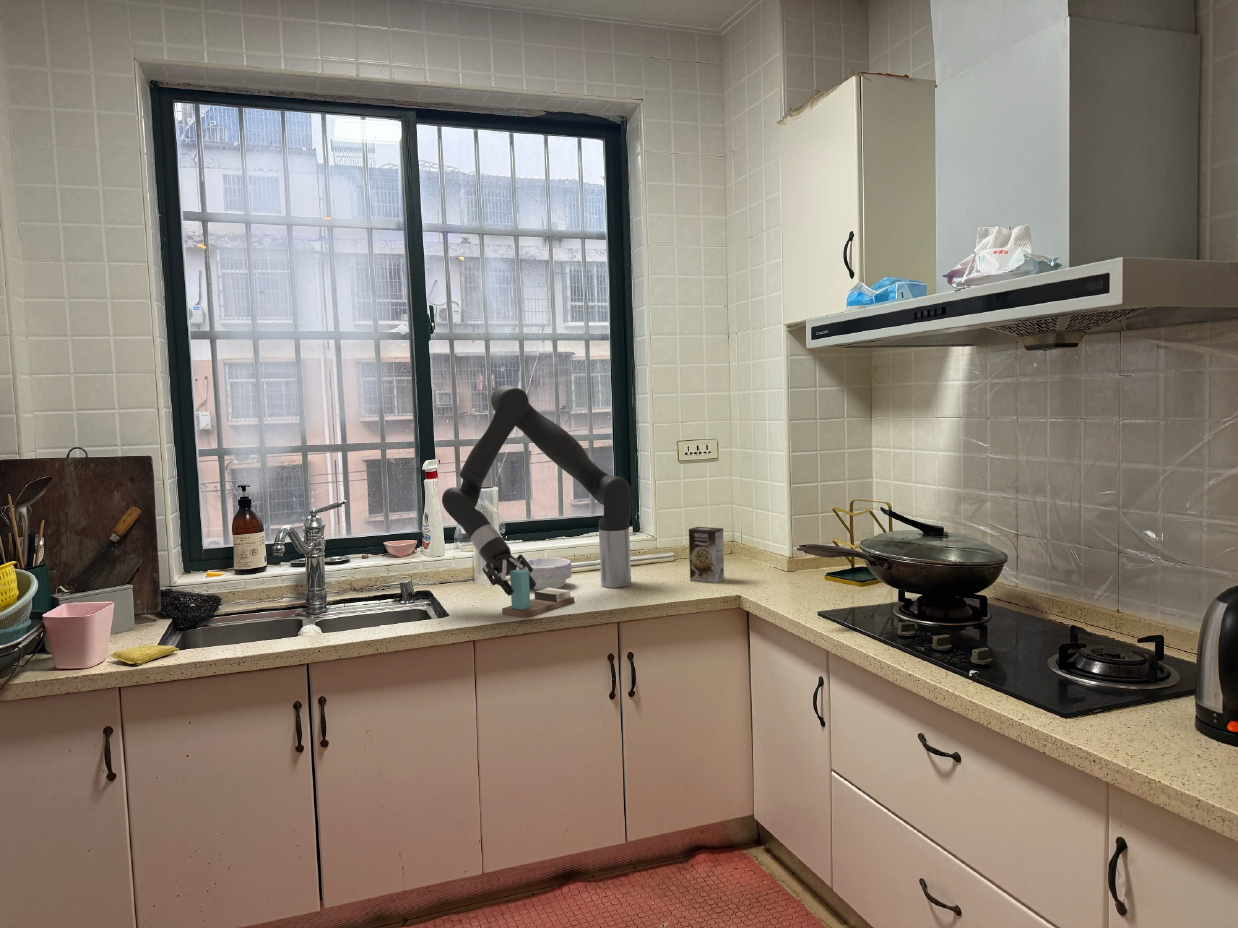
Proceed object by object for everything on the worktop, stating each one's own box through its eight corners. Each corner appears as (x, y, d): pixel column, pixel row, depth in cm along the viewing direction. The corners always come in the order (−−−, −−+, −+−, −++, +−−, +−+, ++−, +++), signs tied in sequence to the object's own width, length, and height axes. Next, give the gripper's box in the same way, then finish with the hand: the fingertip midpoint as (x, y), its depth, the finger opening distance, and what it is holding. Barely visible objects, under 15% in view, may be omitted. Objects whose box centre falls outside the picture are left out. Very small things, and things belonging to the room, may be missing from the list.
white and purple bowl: (570, 591, 253) (569, 565, 253) (519, 593, 254) (517, 567, 253) (574, 581, 269) (573, 556, 268) (526, 582, 269) (524, 557, 268)
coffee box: (689, 581, 261) (687, 529, 260) (698, 577, 267) (696, 525, 266) (716, 583, 257) (714, 530, 255) (725, 579, 262) (723, 527, 261)
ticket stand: (550, 598, 245) (549, 586, 245) (574, 602, 240) (573, 589, 239) (502, 613, 230) (501, 600, 229) (526, 617, 224) (526, 604, 224)
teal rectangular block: (519, 605, 231) (517, 569, 231) (530, 607, 229) (528, 570, 228) (511, 608, 229) (509, 571, 228) (522, 609, 227) (520, 572, 226)
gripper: (477, 540, 227) (511, 586, 221) (514, 532, 238) (547, 576, 232) (464, 558, 230) (497, 604, 224) (502, 549, 242) (534, 593, 235)
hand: (522, 590), depth 228 cm, fingers open, 8 cm apart
